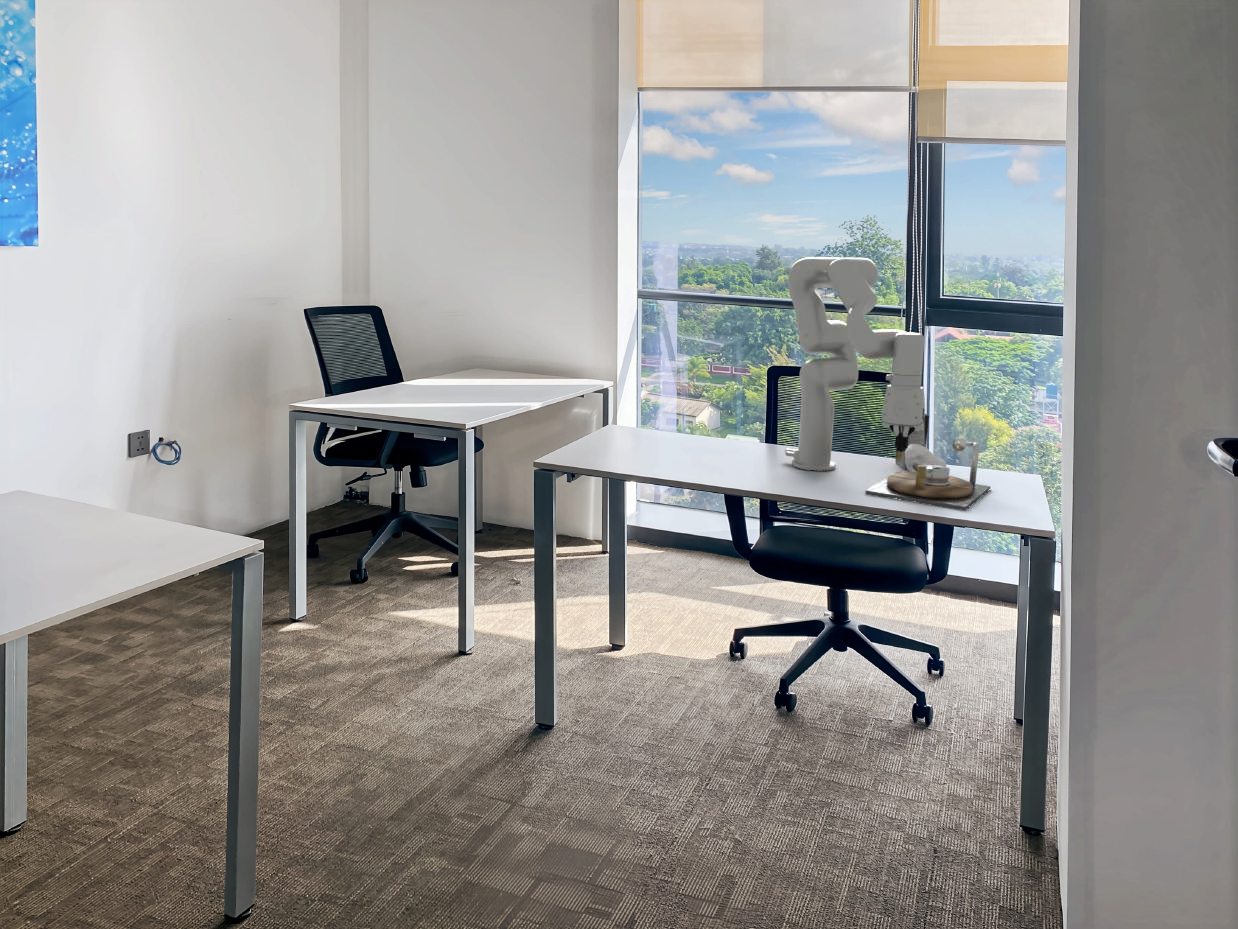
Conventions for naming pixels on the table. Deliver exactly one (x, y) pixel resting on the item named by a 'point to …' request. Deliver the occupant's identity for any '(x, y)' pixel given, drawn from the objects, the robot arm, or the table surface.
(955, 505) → the turntable base
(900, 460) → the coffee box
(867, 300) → the robot arm
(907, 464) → the white rounded lump
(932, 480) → the cover
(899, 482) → the turntable
